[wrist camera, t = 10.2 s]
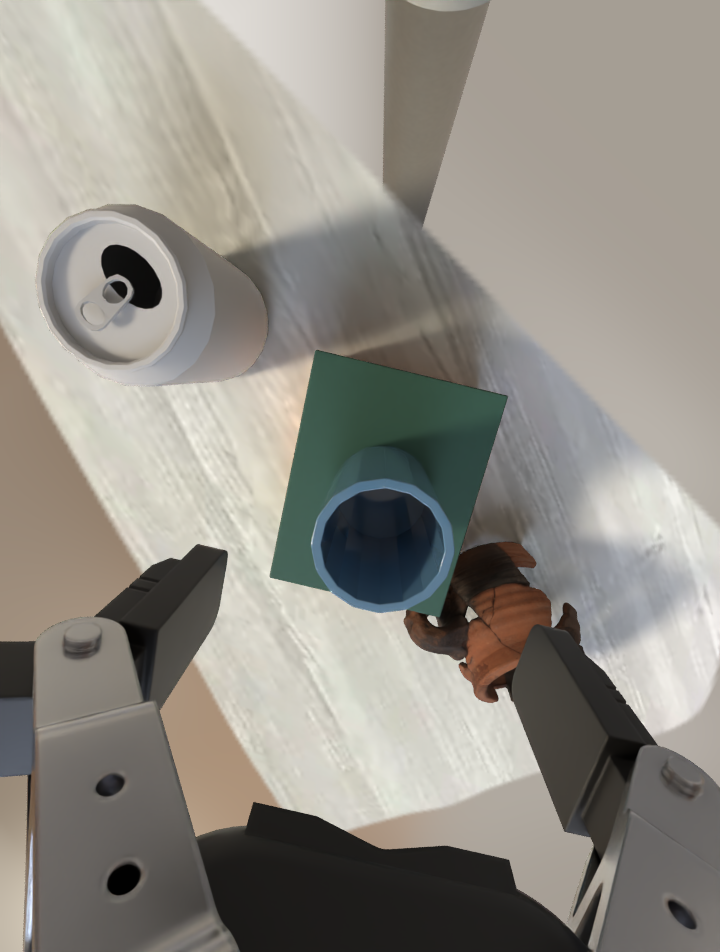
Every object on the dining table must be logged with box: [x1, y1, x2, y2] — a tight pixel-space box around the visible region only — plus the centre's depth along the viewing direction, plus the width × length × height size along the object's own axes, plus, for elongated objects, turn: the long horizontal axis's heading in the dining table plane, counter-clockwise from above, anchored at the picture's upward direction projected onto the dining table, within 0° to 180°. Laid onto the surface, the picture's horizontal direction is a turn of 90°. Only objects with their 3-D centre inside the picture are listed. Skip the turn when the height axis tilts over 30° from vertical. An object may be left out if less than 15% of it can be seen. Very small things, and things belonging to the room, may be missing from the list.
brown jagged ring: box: [404, 542, 585, 703], centre depth 31 cm, size 12×10×8 cm
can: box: [35, 204, 268, 386], centre depth 24 cm, size 8×8×12 cm
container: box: [270, 350, 508, 617], centre depth 28 cm, size 14×11×6 cm
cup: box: [311, 445, 455, 613], centre depth 22 cm, size 6×6×8 cm
